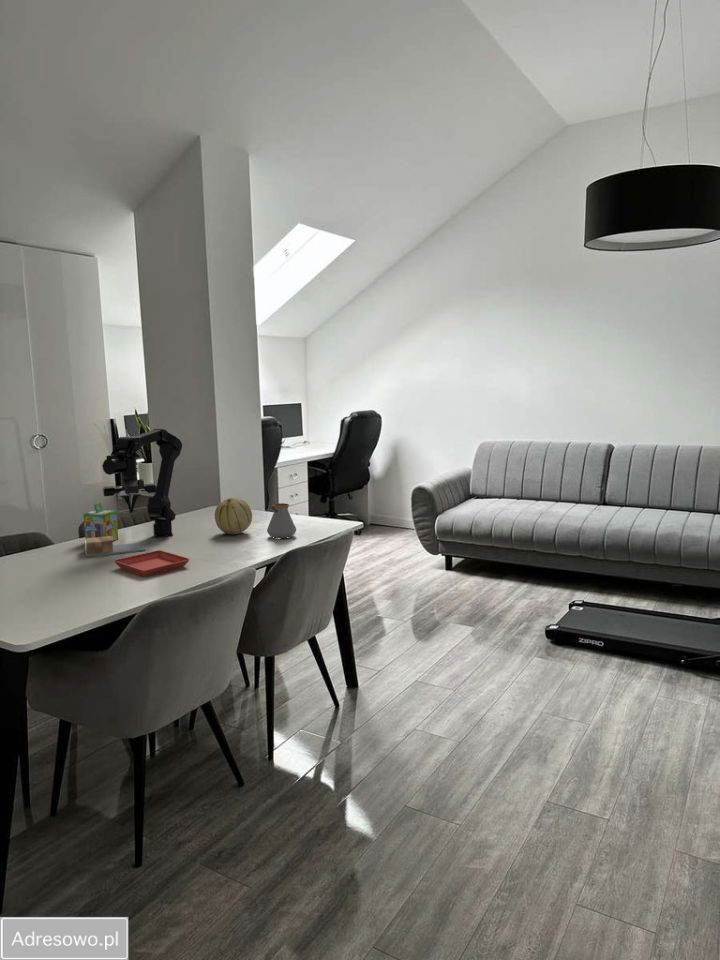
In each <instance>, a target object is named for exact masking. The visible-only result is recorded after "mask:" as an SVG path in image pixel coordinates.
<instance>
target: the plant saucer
mask: <svg viewBox="0 0 720 960" xmlns="http://www.w3.org/2000/svg"><path fill="white" fill-rule="evenodd" d="M113 562H114V563H115V565H116V566H118V567H119V569H121V570H123V569H124V570H123V571H126V570H127V571H126V572H129V571H130V572H131V573H132V572H133V573H132V574H135V573H136V575H138V574H139V575H138V576H141V575H142V577H145V576H146V577H149V576H154V575H157V574H162V573H165V572H169V571H174V570H178V569H182V568H183V567H185V566H186V565H187V564H188V563H189V562H190V558H188V557H185V556H182V555H178V554H174V553H172V552H167V551H164V550H160V549H158V550H154V551H150V552H149V551H148V552H144V553H139V554H135V555H131V556H130V555H129V556H126V557H122V558H118V559H117V558H116V559H114V560H113Z"/></svg>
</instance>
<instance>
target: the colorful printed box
mask: <svg viewBox="0 0 720 960" xmlns="http://www.w3.org/2000/svg"><path fill="white" fill-rule="evenodd" d="M102 505H103V504H102V503H101V502H98V503H95V504H94V505H93V507H94V510H91V511H88V512H86V513H83V523H84V524H83V525H84V527H83V528H84V538H95V537H105V536H111V539H112V542H115V541H117V540H119V530H118V529H119V528H118V514H117V513H118V512H117V510H108V509H103V506H102ZM98 507H99V508H100V509H98Z"/></svg>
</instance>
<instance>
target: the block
mask: <svg viewBox="0 0 720 960" xmlns="http://www.w3.org/2000/svg"><path fill="white" fill-rule="evenodd" d="M83 540H84V548H85V550H84V552H85V551H86V553H85V555H86V554H94V553H104V552H113V545H114V543H113V541H112V539H111V536H105V537H95V538H85V537H84V539H83Z"/></svg>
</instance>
